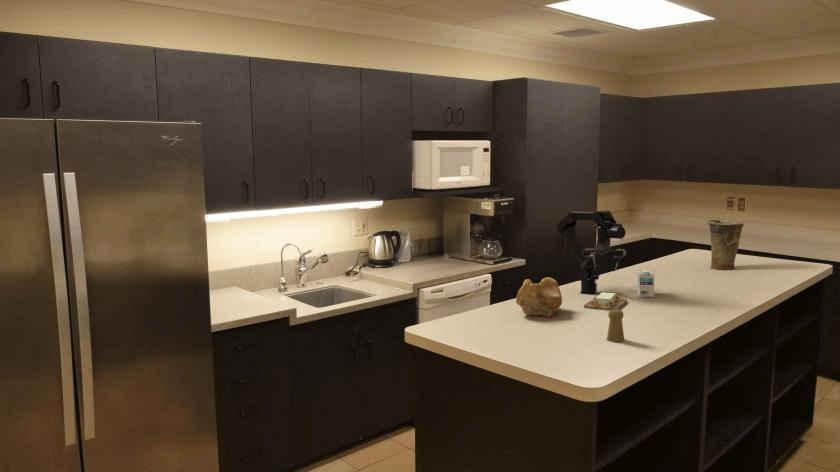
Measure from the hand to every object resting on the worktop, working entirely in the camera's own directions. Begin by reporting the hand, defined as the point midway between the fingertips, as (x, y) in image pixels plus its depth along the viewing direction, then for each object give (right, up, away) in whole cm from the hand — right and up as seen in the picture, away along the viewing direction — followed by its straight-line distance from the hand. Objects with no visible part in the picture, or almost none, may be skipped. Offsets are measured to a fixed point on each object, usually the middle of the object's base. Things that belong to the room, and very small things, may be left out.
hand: (604, 270), depth 291 cm
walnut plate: (-4, -14, -15) cm, 21 cm away
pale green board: (-4, -13, -15) cm, 21 cm away
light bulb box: (+20, -12, +2) cm, 23 cm away
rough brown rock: (-34, -17, -27) cm, 46 cm away
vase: (+85, -2, +60) cm, 104 cm away
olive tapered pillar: (-15, -21, -66) cm, 71 cm away
